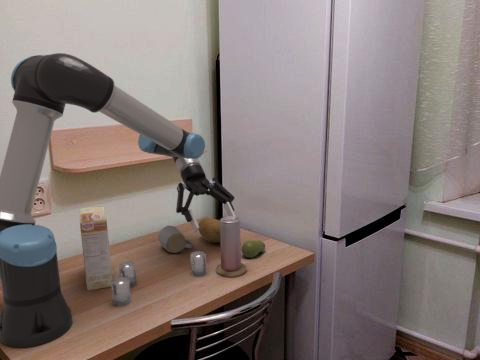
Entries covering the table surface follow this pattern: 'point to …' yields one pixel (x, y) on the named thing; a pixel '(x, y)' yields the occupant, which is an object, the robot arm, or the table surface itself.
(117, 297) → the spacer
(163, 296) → the table surface
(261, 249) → the pear
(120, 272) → the cylinder
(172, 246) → the ceramic mug
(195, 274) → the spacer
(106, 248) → the coffeecake box
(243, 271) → the coaster
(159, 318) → the table surface
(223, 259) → the beverage can
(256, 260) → the table surface
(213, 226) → the potato
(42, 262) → the robot arm
